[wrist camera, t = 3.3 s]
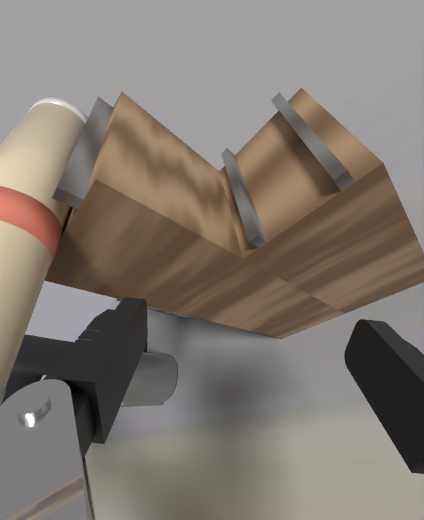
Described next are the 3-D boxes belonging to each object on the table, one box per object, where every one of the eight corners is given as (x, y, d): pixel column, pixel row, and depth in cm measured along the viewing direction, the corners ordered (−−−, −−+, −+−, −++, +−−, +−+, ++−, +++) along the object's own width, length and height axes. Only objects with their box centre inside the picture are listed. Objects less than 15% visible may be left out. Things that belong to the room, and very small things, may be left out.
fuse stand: (434, 277, 25) (232, -174, 5) (281, 338, 36) (15, 273, 15) (373, 206, 32) (190, -95, 12) (260, 274, 43) (61, 172, 23)
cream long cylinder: (7, 413, 7) (-302, 429, 4) (-17, 432, 9) (-226, 450, 7) (104, 125, 19) (40, 81, 16) (83, 165, 21) (24, 132, 19)
